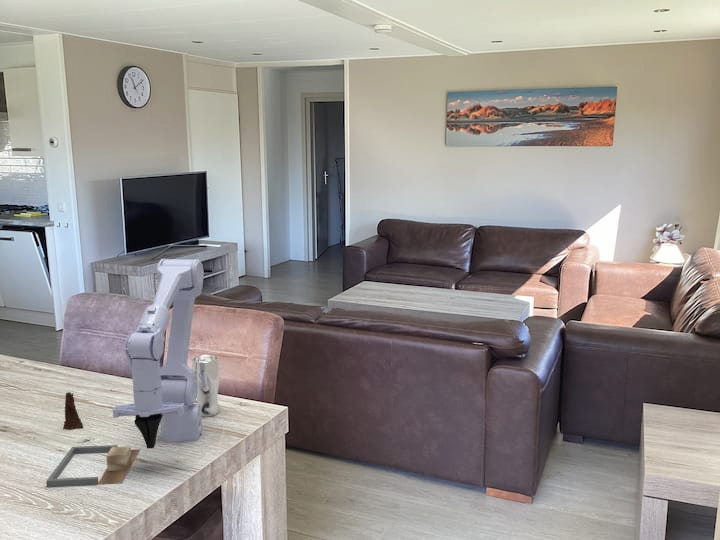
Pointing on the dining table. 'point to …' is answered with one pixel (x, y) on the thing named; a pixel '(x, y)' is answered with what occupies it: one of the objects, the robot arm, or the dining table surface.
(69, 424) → the chess piece
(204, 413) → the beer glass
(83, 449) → the box
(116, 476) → the walnut board
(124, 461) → the birch block
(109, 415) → the dining table surface
